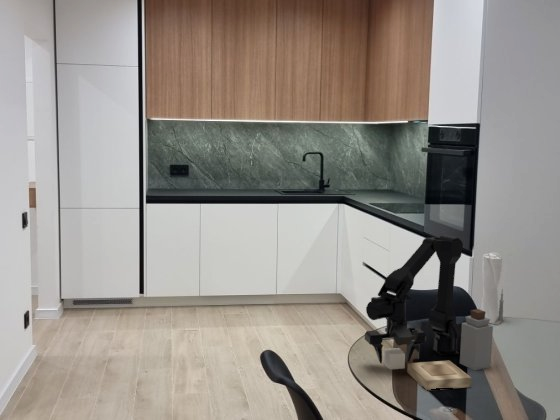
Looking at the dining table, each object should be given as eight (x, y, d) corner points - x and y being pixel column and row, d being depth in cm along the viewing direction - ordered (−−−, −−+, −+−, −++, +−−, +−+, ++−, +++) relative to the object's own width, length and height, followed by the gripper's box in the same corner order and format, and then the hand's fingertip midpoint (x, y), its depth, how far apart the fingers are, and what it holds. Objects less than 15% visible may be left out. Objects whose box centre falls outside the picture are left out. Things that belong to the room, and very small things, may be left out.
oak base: (449, 369, 214) (449, 359, 213) (470, 387, 200) (470, 376, 200) (407, 372, 211) (407, 362, 211) (426, 390, 197) (426, 380, 197)
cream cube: (398, 362, 219) (399, 348, 219) (404, 368, 214) (405, 353, 214) (383, 363, 218) (384, 349, 218) (389, 369, 213) (390, 354, 213)
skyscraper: (497, 326, 258) (501, 254, 254) (476, 322, 262) (480, 251, 258) (503, 320, 265) (507, 250, 261) (482, 317, 269) (486, 248, 265)
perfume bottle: (474, 370, 213) (477, 315, 211) (459, 363, 219) (462, 309, 217) (490, 367, 217) (493, 312, 214) (475, 360, 222) (478, 306, 220)
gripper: (376, 324, 204) (375, 373, 206) (434, 321, 208) (432, 369, 210) (364, 313, 215) (363, 360, 217) (419, 310, 219) (417, 356, 221)
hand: (394, 362), depth 216 cm, fingers open, 9 cm apart
